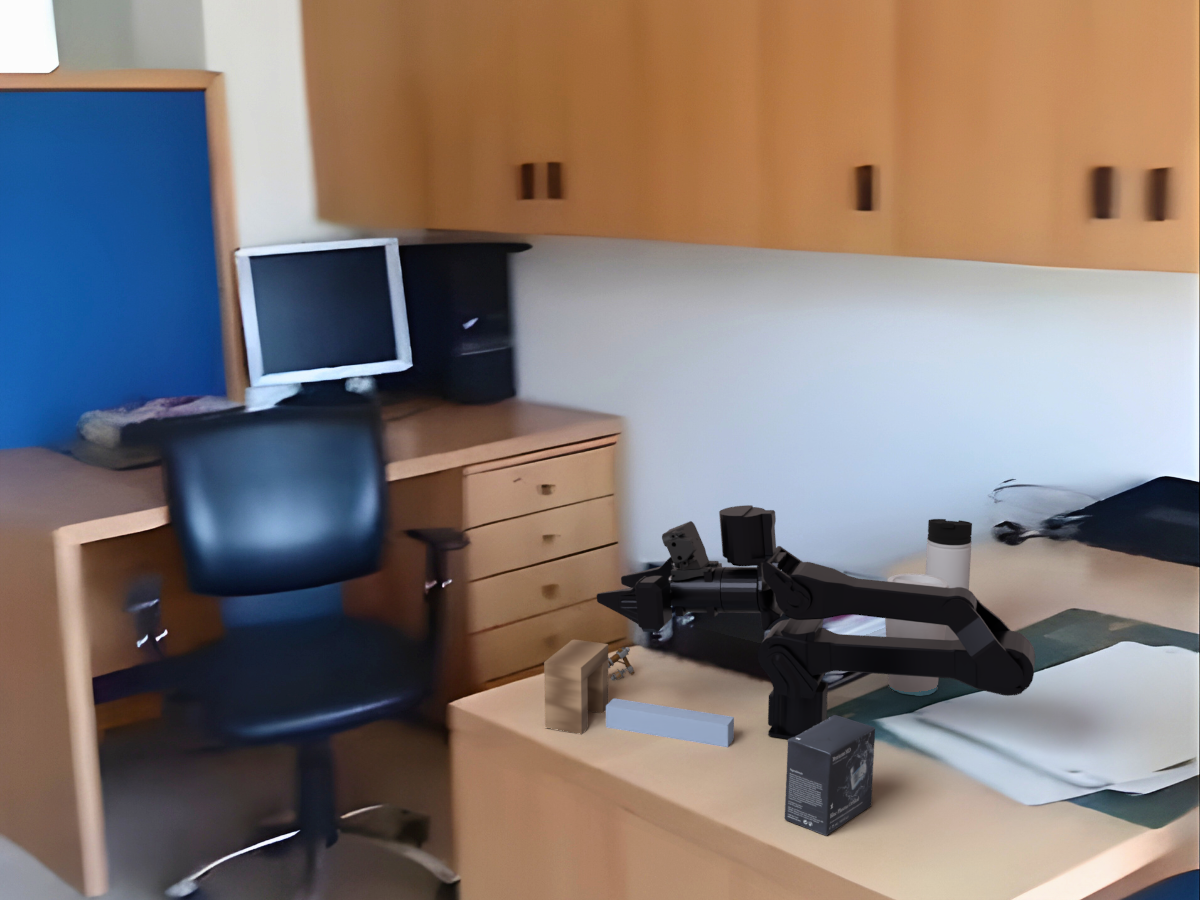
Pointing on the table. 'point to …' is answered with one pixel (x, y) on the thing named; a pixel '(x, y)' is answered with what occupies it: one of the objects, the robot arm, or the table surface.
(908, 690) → the coffee cup
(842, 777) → the box
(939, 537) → the travel mug
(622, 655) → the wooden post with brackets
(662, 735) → the light blue rectangular bar
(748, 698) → the table surface
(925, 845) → the table surface
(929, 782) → the table surface
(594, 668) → the wooden block
